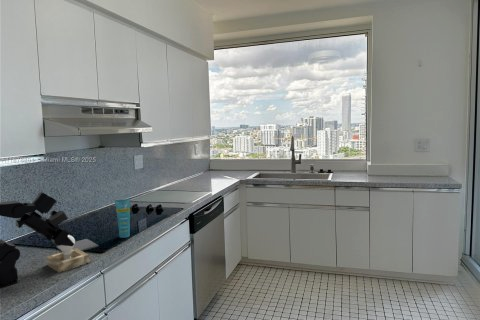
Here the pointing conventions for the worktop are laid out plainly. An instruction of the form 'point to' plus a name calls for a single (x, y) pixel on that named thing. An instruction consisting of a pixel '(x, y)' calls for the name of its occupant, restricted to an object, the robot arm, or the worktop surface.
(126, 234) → the tube
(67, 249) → the lightbulb
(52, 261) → the holder block
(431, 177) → the worktop surface
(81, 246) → the mat
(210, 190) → the worktop surface
